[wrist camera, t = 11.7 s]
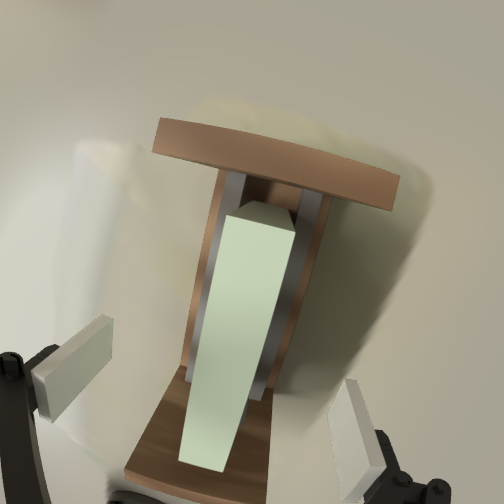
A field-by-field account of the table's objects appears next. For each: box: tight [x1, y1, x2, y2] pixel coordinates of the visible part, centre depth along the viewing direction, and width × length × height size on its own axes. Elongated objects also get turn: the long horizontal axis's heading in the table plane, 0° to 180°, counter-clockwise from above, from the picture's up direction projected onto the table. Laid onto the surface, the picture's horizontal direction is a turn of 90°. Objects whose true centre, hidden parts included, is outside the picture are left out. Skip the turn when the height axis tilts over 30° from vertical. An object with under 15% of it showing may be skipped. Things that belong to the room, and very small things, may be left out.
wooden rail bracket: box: [124, 118, 400, 504], centre depth 22 cm, size 23×10×16 cm, turn 167°
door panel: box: [178, 200, 296, 472], centre depth 22 cm, size 16×4×14 cm, turn 167°
